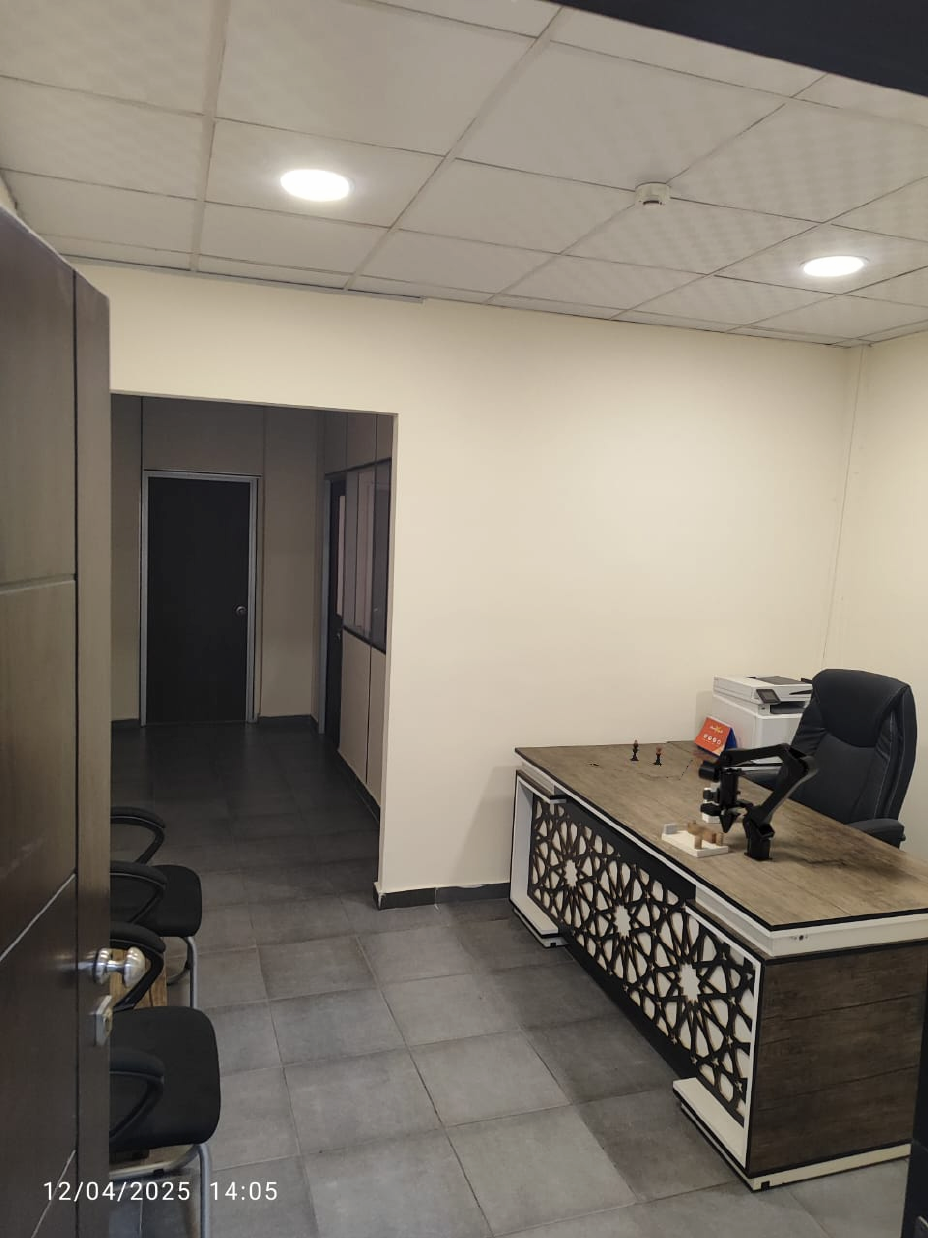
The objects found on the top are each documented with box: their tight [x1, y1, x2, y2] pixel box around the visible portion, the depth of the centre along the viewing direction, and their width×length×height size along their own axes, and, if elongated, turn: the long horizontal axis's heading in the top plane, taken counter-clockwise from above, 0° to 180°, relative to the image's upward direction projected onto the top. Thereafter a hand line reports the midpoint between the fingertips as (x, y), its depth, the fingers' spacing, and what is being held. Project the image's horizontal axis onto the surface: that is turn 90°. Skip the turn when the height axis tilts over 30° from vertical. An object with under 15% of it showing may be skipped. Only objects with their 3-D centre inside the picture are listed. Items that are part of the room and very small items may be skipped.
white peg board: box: [661, 822, 729, 858], centre depth 280 cm, size 17×13×6 cm
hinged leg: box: [686, 819, 717, 843], centre depth 282 cm, size 12×2×4 cm, turn 27°
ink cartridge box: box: [701, 782, 721, 824], centre depth 306 cm, size 9×5×15 cm, turn 101°
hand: (725, 832), depth 282 cm, fingers closed
